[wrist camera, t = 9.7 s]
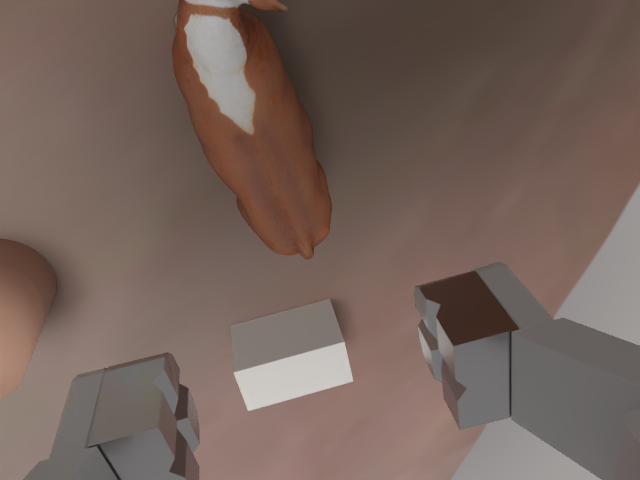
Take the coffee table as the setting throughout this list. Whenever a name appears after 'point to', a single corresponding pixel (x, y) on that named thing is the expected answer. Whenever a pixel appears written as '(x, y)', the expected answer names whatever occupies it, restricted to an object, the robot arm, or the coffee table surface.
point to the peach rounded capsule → (21, 308)
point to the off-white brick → (289, 354)
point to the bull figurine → (252, 121)
